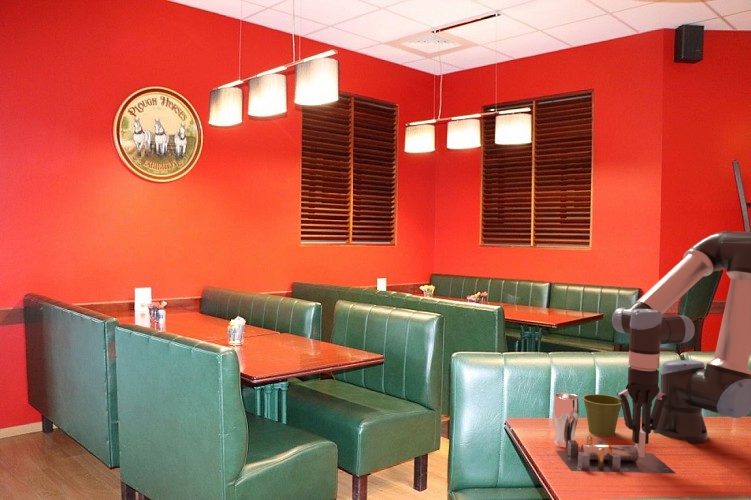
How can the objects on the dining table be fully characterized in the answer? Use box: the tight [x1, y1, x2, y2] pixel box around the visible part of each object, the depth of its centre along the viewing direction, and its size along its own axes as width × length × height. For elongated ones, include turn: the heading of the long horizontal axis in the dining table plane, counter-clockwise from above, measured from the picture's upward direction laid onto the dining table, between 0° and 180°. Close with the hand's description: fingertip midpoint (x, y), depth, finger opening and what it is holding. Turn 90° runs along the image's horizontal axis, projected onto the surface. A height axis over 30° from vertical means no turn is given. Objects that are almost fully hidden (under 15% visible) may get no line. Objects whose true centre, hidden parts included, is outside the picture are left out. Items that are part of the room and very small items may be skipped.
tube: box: [580, 443, 638, 461], centre depth 166 cm, size 14×4×4 cm, turn 90°
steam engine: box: [555, 435, 677, 475], centre depth 165 cm, size 27×14×6 cm, turn 90°
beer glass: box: [552, 392, 580, 449], centre depth 177 cm, size 7×7×15 cm
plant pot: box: [581, 393, 622, 437], centre depth 189 cm, size 12×12×11 cm
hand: (639, 455), depth 165 cm, fingers closed
